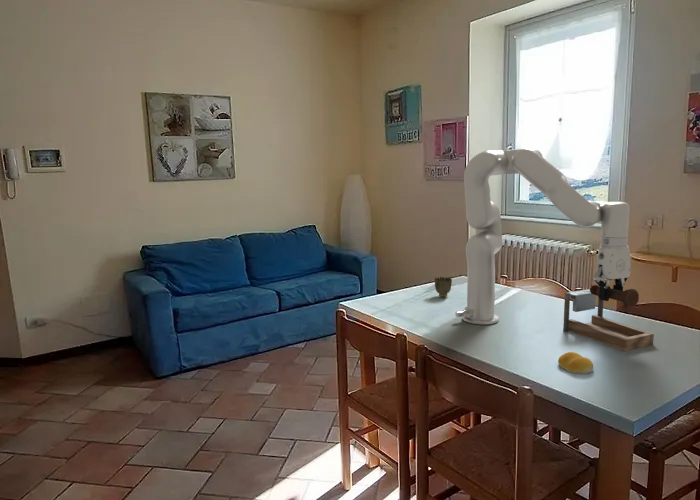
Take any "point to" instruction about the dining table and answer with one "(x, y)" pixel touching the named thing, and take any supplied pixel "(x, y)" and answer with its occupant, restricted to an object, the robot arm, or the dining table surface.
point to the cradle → (607, 330)
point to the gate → (583, 300)
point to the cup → (443, 285)
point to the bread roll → (575, 363)
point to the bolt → (619, 295)
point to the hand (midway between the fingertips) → (610, 298)
